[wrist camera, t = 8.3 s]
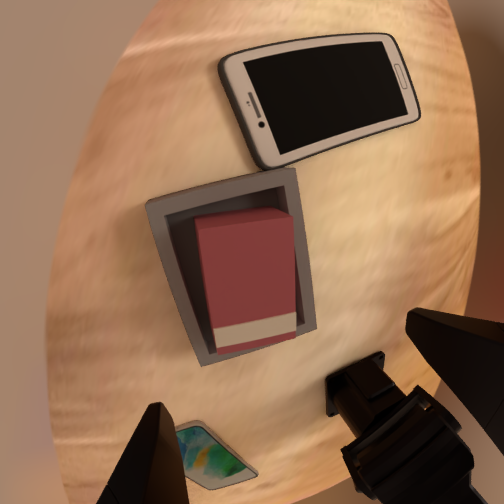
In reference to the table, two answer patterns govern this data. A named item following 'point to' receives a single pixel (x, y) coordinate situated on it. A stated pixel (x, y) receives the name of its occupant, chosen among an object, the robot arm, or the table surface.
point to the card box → (248, 276)
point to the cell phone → (317, 94)
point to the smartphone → (210, 458)
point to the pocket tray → (187, 258)
